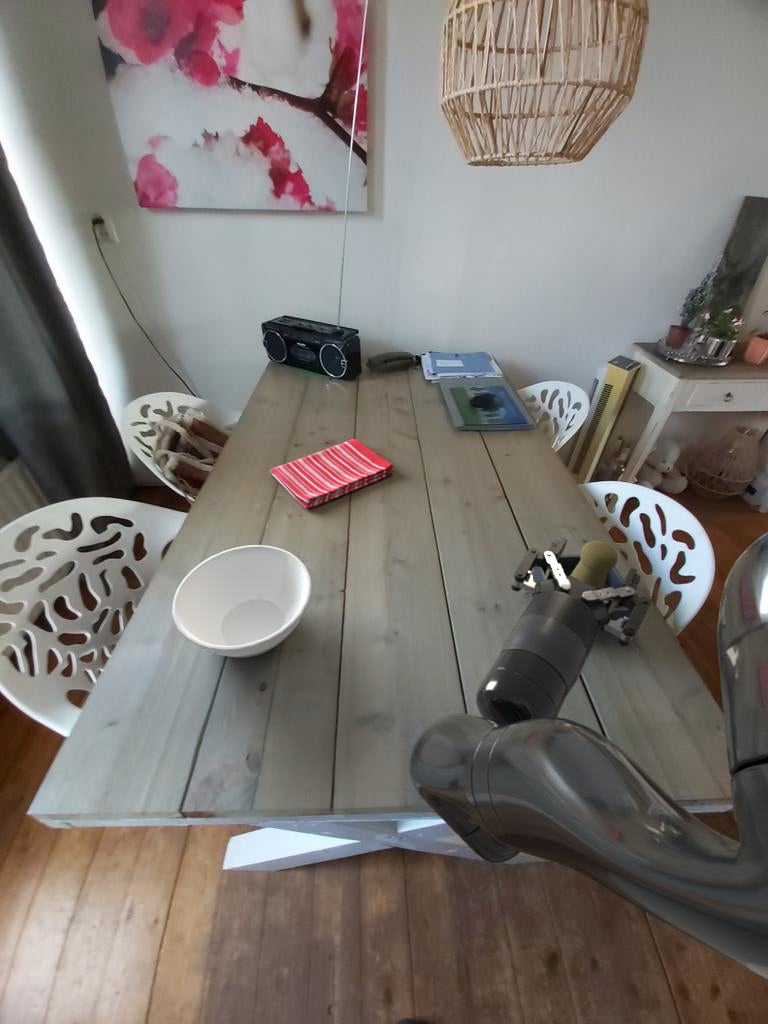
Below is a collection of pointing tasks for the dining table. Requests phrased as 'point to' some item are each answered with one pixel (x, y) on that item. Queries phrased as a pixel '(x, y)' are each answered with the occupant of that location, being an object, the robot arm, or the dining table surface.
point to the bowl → (242, 600)
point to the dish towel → (332, 473)
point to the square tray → (611, 581)
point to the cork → (595, 563)
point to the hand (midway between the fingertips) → (596, 557)
